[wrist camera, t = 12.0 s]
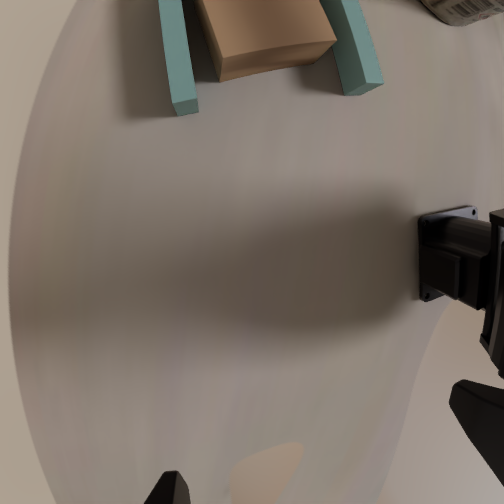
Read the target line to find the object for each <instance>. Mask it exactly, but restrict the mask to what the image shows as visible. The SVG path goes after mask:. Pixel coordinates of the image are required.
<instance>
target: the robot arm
mask: <svg viewBox="0 0 504 504" xmlns="http://www.w3.org/2000/svg"><path fill="white" fill-rule="evenodd" d="M489 217H490V222H491V223H489V222H484V221H480V220H478V213H477V208H476V207H475V206H466V207H461V208H457V209H452V210H447V211H443V212H438V213H433V214H429V215H424V216H421V217H420V218H419V220H418V233H419V263H420V295H419V296H420V299H421V300H422V301H424V302H428V301H431V300H433V299H436V298H438V297H441V296H443V295H446V296H448V297H450V298H452V299H454V300H459V301H461V302H463V303H464V304H466V305H468V306H470V307H472V308H474V309H476V310H480V309H482V310H483V311H485V319H484V325H483V331H482V333H481V336H480V343H481V344H482V346H483V347H484V348H485V350H486V351H487V352H488V354H489V356H490V358H491V361H492V362H493V363H494V365H495V366H496V367H497V368H498V370H499V371H498V375H499V376H500V377H501V378H503V379H504V209H500V210H496V211H492V212H489ZM424 221H426V224H425V226H424ZM426 293H427V295H426ZM425 295H426V296H425ZM449 405H450V408H451V409H452V411H453V413H454V414H455V416H456V418H457V419H458V421H459V423H460V424H461V426H462V428H463V430H464V431H465V433H466V435H467V436H468V438H469V439H470V441H471V442H472V443H473V445H474V446H475V447H476V449H477V450H478V451H479V453H480V454H481V456H482V457H483V458H484V460H485V461H486V462H487V464H488V465H489V467H490V468H491V469H492V471H493V472H494V474H495V475H496V476H497V478H498V479H499V481H500V482H501V484H502V485H503V486H504V389H499V388H496V387H492V386H488V385H484V384H480V383H476V382H473V381H468V380H460V381H458V382H457V383H455V384H454V385H453V387H452V391H451V395H450V399H449ZM144 504H191V502H190V495H189V489H188V486H187V484H186V482H185V481H184V479H183V477H182V476H181V474H180V473H179V472H178V471H165V472H164V473H163V474H162V476H161V477H160V479H159V480H158V482H157V484H156V485H155V487H154V488H153V490H152V491H151V493H150V495H149V496H148V498H147V499H146V501H145V502H144Z"/></svg>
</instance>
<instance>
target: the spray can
mask: <svg viewBox="0 0 504 504" xmlns="http://www.w3.org/2000/svg"><path fill="white" fill-rule="evenodd" d="M421 1H422V2H423V3H424V5H425V6H426V7H427V8H429V9H430V10H431V11H432V12H433V13H434V14H435V15H436V16H438V17H439V18H440V19H441V20H442V21H444V22H445V23H447V24H448V23H449V24H450V25H453V26H466V25H468V24H472V23H474V22H477V21H479V20H482V19H486V18H488V17H491V16H492V15H496V14H498V13H502V12H504V0H421Z"/></svg>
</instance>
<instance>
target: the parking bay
mask: <svg viewBox="0 0 504 504" xmlns="http://www.w3.org/2000/svg"><path fill="white" fill-rule="evenodd" d="M181 1H182V0H158V2H159V11H160V19H161V28H162V36H163V43H164V51H165V58H166V65H167V72H168V79H169V86H170V92H171V98H172V104H173V106H174V108H175V111H176V113H177V115H178V116H182V115H187V114H192V113H197V112H199V111H198V101H197V94H196V89H195V83H194V77H193V71H192V65H191V59H190V53H189V47H188V41H187V34H186V28H185V22H184V15H183V8H182V2H181ZM319 2H320V4H321V6H322V8H323V10H324V12H325V14H326V16H327V19H328V21H329V23H330V25H331V27H332V30H333V32H334V34H335V37H336V39H337V41H336V42H335V43H334V44H333V45H332V49H333V53H334V56H335V60H336V64H337V68H338V72H339V76H340V80H341V84H342V88H343V92H344V96H347V95H362V94H364V93H366V92H368V91H370V90H372V89H374V88H376V87H378V86H380V85H382V84H384V81H383V77H382V73H381V69H380V66H379V62H378V59H377V55H376V52H375V49H374V45H373V42H372V39H371V36H370V33H369V30H368V27H367V24H366V21H365V18H364V15H363V12H362V10H361V7H360V4H359V2H358V0H319Z"/></svg>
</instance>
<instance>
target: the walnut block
mask: <svg viewBox="0 0 504 504" xmlns="http://www.w3.org/2000/svg"><path fill="white" fill-rule="evenodd" d="M194 8H195V11H196V14H197V17H198V20H199V22H200V25H201V28H202V31H203V34H204V37H205V40H206V43H207V46H208V49H209V52H210V55H211V58H212V61H213V64H214V67H215V70H216V73H217V76H218V79H219V82H224V81H228V80H232V79H236V78H240V77H244V76H248V75H253V74H257V73H262V72H267V71H272V70H277V69H283V68H289V67H295V66H301V65H307V64H314V63H315V62H316V61H317V60H318V59H319V58H320V57H321V56H322V55H323V54H324V53H325V52H326V51H327V50H328V49H329V48H330V47H331V46H332V45H333V44H334V43H335V42H336V41H337V39H336V37H335V34H334V32H333V30H332V27H331V25H330V23H329V21H328V19H327V16H326V14H325V12H324V10H323V8H322V6H321V4H320V2H319V0H194Z"/></svg>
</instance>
